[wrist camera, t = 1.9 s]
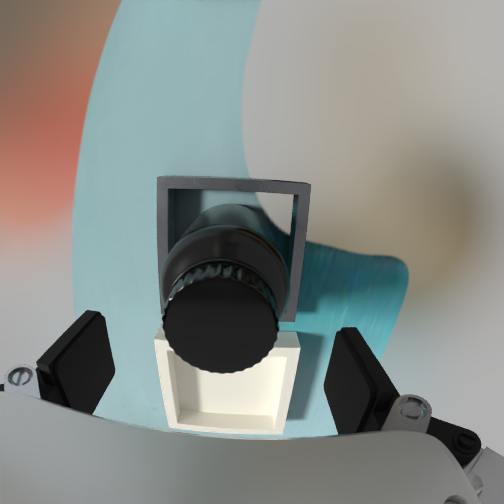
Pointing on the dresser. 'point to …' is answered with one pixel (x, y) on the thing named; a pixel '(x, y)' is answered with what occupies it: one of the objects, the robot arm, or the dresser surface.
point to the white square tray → (229, 391)
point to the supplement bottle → (224, 290)
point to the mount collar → (299, 189)
